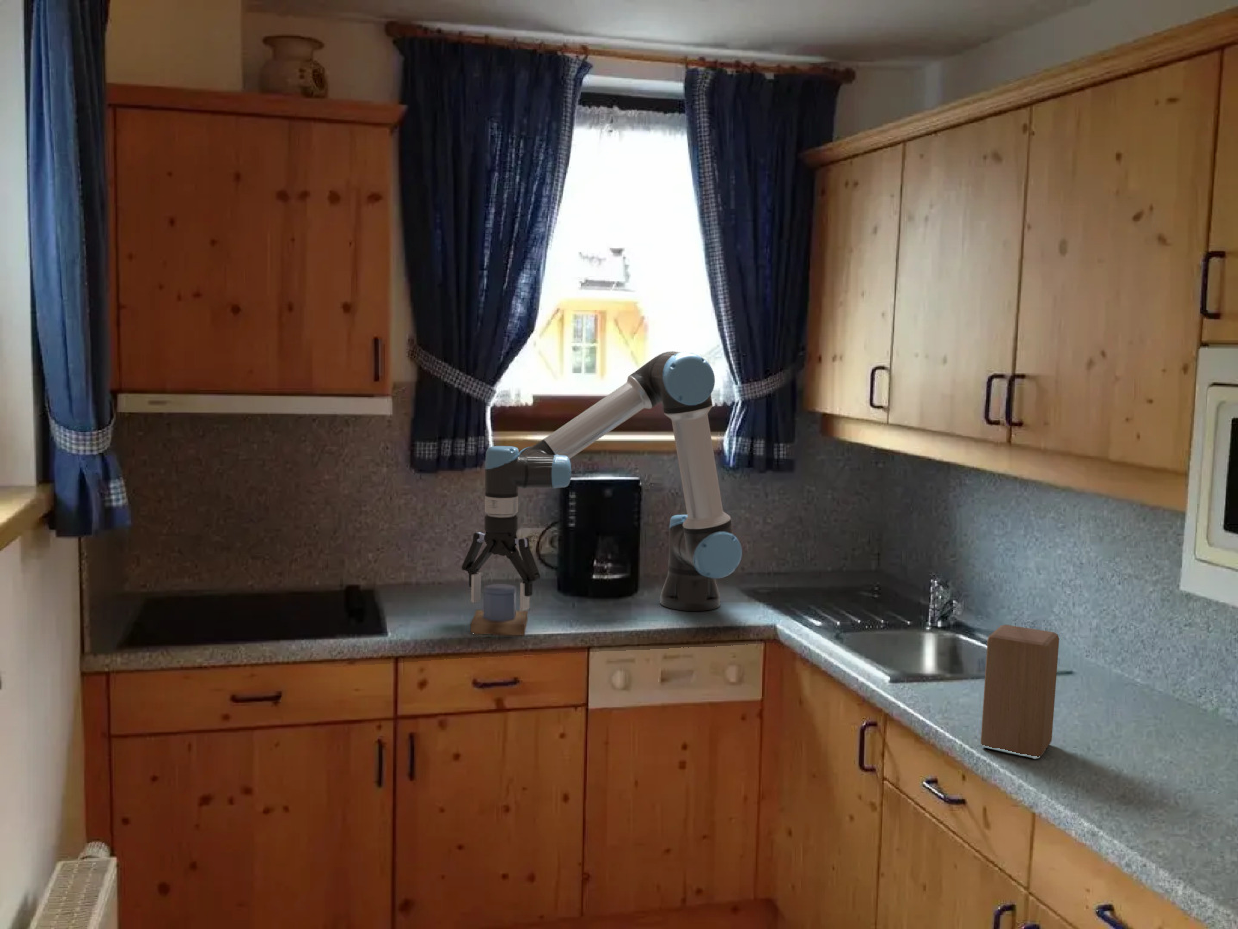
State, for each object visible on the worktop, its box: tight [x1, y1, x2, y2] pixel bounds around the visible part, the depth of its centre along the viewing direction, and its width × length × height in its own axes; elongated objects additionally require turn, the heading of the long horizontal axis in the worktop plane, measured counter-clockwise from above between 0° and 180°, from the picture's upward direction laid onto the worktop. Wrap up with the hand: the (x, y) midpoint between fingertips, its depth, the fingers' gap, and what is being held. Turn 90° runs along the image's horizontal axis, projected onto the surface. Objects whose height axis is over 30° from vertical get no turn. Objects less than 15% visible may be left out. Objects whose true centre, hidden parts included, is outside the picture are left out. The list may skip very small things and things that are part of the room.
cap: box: [483, 583, 517, 621], centre depth 262 cm, size 7×7×7 cm
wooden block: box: [980, 624, 1060, 757], centre depth 195 cm, size 10×10×20 cm
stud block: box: [470, 609, 529, 636], centre depth 263 cm, size 12×12×8 cm
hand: (500, 605), depth 262 cm, fingers open, 13 cm apart
